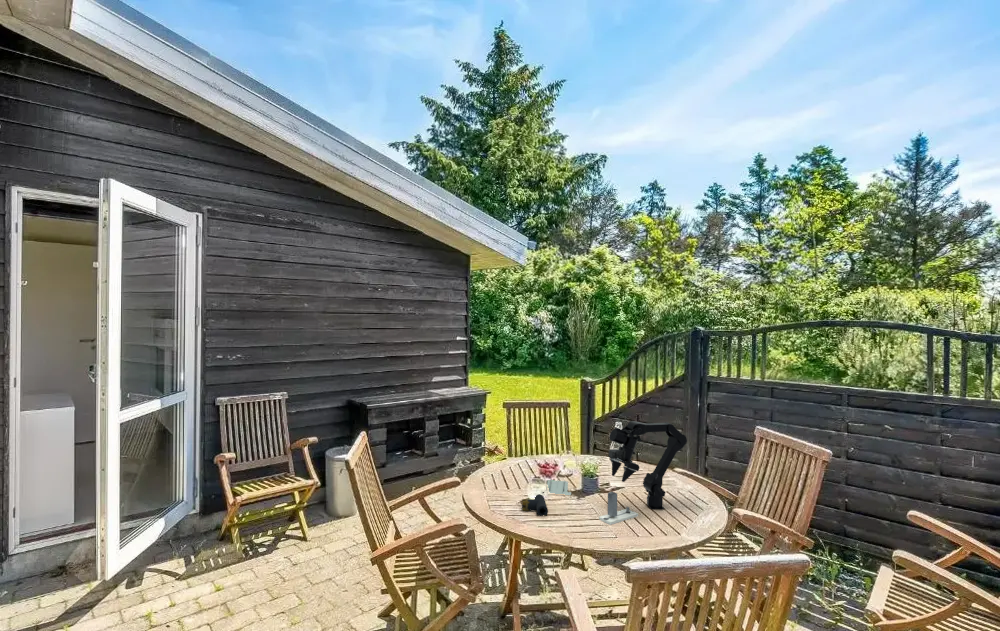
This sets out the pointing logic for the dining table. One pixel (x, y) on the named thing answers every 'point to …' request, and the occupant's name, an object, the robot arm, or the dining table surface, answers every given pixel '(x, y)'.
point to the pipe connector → (535, 505)
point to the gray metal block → (612, 504)
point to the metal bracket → (558, 487)
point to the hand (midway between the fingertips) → (617, 478)
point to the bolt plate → (618, 516)
